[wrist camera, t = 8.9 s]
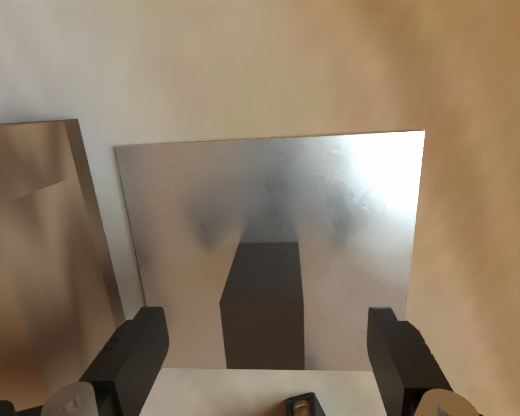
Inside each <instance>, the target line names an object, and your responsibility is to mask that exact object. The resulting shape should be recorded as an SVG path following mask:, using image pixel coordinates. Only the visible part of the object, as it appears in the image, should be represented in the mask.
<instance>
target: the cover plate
mask: <svg viewBox="0 0 520 416" xmlns="http://www.w3.org/2000/svg"><path fill="white" fill-rule="evenodd" d="M424 132H425V131H402V132H382V133H362V134H342V135H322V136H303V137H283V138H263V139H243V140H223V141H204V142H184V143H164V144H144V145H124V146H116V147H115V151H116V156H117V161H118V166H119V171H120V176H121V181H122V186H123V191H124V196H125V201H126V206H127V211H128V216H129V221H130V226H131V231H132V236H133V241H134V246H135V251H136V256H137V261H138V266H139V271H140V276H141V280H142V285H143V290H144V295H145V300H146V305H147V307H163V309H164V313H165V318H166V324H167V329H168V334H169V349H168V353H167V356H166V358H165V360H164V362H163V364H162V366H161V368H211V369H268V370H337V371H373V369H372V366H371V363H370V360H369V356H368V352H367V324H368V310H369V307H386V306H389V307H391V308H392V310H393V312H394V314H395V316H396V318H397V320H398V321H405V315H406V306H407V296H408V286H409V277H410V267H411V258H412V248H413V238H414V229H415V219H416V209H417V200H418V190H419V180H420V171H421V161H422V151H423V142H424Z"/></svg>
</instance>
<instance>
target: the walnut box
mask: <svg viewBox="0 0 520 416" xmlns="http://www.w3.org/2000/svg"><path fill="white" fill-rule="evenodd" d="M123 323H125V318H124V314H123V309H122V305H121V301H120V297H119V292H118V288H117V284H116V280H115V275H114V271H113V267H112V263H111V259H110V254H109V250H108V246H107V242H106V237H105V233H104V229H103V225H102V220H101V216H100V212H99V208H98V203H97V199H96V195H95V191H94V186H93V182H92V178H91V174H90V169H89V165H88V161H87V157H86V153H85V148H84V144H83V140H82V136H81V131H80V127H79V123H78V119H72V120H55V121H39V122H22V123H5V124H0V400H8V401H10V402H12V403H13V405H14V407H15V410H16V412H17V411H21V410H25V409H29V408H33V407H37V406H40V405H44V404H45V402H46V401H47V400H48V399H49V398H50V396H51V395H53V394H54V393H55V392H56V391H58V390H59V389H61V388H62V387H64V386H66V385H69V384H71V383H75V382H78V381H79V379H80V378H81V377H82V375H83V374H84V372H85V371H86V370H87V368H88V367H89V366H90V364H91V363H92V362H93V360H94V359H95V357H96V356H97V355H98V353H99V352H100V351H101V350H102V349H103V347H104V345H105V344H106V342H107V341H109V338H110V337H111V336H112V334H113V333H114V332H115V330H116V329H117V328H118V327H119V326H121V325H122V324H123Z"/></svg>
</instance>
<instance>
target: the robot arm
mask: <svg viewBox="0 0 520 416" xmlns="http://www.w3.org/2000/svg"><path fill="white" fill-rule="evenodd" d="M168 349H169V334H168V329H167V324H166V318H165V313H164V309H163V307H142V308H141V309H140V310H139V311H138V313H137V314H136V316H135V317H134V319H133V320H127V321H126V322H125V323H123V324H122V325H121V326H119V327H118V328H117V329H116V330H115V332H114V333H113V334H112V336H111V337H110V338H109V341H107V342H106V344H105V345H104V347H103V349H102V350H101V351H100V352H99V353H98V355H97V356H96V357H95V359H94V360H93V362H92V363H91V364H90V366H89V367H88V368H87V370H86V371H85V372H84V374H83V375H82V377H81V378H80V379H79V381H78V382H75V383H71V384H69V385H66V386H64V387H62V388H61V389H59V390H58V391H56V392H55V393H54V394H53V395H51V396H50V398H49V399H48V400H47V401H46V402H45V404H44V405H40V406H37V407H33V408H29V409H25V410H21V411H17V412H16V410H15V407H14V405H13V403H12V402H10V401H8V400H0V416H139V414H140V412H141V410H142V407H143V405H144V403H145V401H146V399H147V397H148V395H149V392H150V390H151V388H152V386H153V384H154V382H155V379H156V377H157V375H158V373H159V371H160V369H161V366H162V364H163V362H164V360H165V358H166V356H167V353H168ZM367 352H368V356H369V360H370V363H371V366H372V369H373V372H374V376H375V379H376V382H377V385H378V388H379V391H380V394H381V398H382V401H383V404H384V407H385V410H386V413H387V416H483V415H481V414H479V413H478V412H477V410H476V409H475V408H474V406H473V405H472V404H471V403H470V402H468V401H467V400H466V399H465V398H463V397H462V396H460V395H458V394H456V393H454V391H453V390H452V388H451V386H450V385H449V383H448V381H447V379H446V377H445V376H444V374H443V372H442V370H441V369H440V367H439V365H438V363H437V362H436V360H435V358H434V356H433V355H432V354H431V351H430V349H429V348H428V346H427V345H426V344H425V341H424V339H423V337H422V335H421V334H420V332H419V330H417V329H416V328H415V327H414V326H413V325H412V324H410V323H409V322H408V321H398V320H397V318H396V316H395V314H394V312H393V310H392V308H391V307H389V306H386V307H369V310H368V324H367Z"/></svg>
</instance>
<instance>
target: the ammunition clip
mask: <svg viewBox="0 0 520 416" xmlns="http://www.w3.org/2000/svg"><path fill="white" fill-rule="evenodd" d="M286 416H326V415H325V413H324V411H323V409H322V407H321V405H320V403H319V401H318V399H317V398H316V396H315V394H314V393H310V394H306V395H303V396H299V397H295V398H291V399H288V400H286Z"/></svg>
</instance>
